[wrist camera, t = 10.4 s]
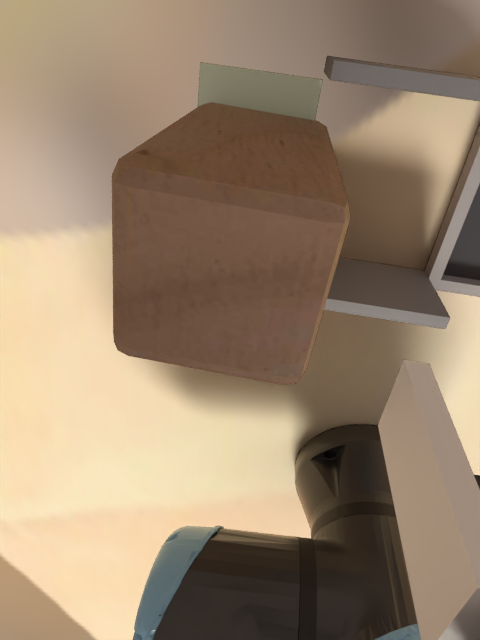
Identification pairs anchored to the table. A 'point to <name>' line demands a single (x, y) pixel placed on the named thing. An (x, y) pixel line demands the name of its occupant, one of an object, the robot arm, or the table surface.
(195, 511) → the table surface
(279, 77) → the pad
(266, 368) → the wooden block
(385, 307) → the channel
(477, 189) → the pit trap
